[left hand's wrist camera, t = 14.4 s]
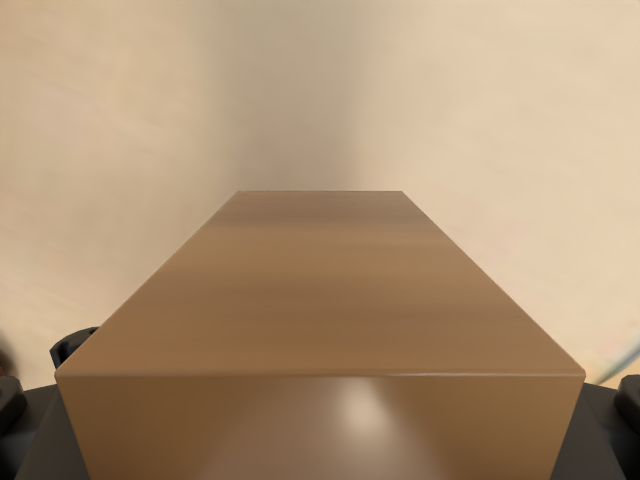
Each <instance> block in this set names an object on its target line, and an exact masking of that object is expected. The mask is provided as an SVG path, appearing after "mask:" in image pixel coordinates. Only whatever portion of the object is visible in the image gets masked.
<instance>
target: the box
mask: <svg viewBox="0 0 640 480" xmlns="http://www.w3.org/2000/svg"><path fill="white" fill-rule="evenodd" d="M54 377H55V379H56V382H57V385H58V388H59V391H60V394H61V397H62V399H63V402H64V405H65V408H66V411H67V414H68V417H69V420H70V422H71V425H72V428H73V431H74V434H75V437H76V440H77V442H78V445H79V448H80V451H81V454H82V457H83V460H84V463H85V465H86V468H87V471H88V474H89V477H90V480H549V479H550V478H551V475H552V472H553V469H554V466H555V463H556V461H557V458H558V455H559V452H560V449H561V446H562V443H563V440H564V438H565V435H566V432H567V429H568V426H569V423H570V420H571V418H572V415H573V412H574V409H575V406H576V403H577V400H578V397H579V395H580V392H581V389H582V386H583V383H584V380H585V377H586V372H585V370H584V369H583V368H582V367H581V366H580V365H579V364H578V363H577V362H576V361H575V360H574V359H573V358H572V357H571V356H570V355H569V354H568V353H567V352H566V351H565V350H564V349H563V348H562V347H561V346H560V345H559V344H557V343H556V342H555V341H554V340H553V339H552V338H551V337H550V336H549V335H548V334H547V333H546V332H545V331H544V330H543V329H542V328H541V327H540V326H539V325H538V324H537V323H536V322H535V321H534V320H533V319H532V318H531V317H530V316H529V315H528V314H527V313H526V312H525V311H524V310H523V309H522V308H521V307H520V306H519V305H518V304H517V303H516V302H515V301H514V300H513V299H511V298H510V297H509V296H508V295H507V294H506V293H505V292H504V291H503V290H502V289H501V288H500V287H499V286H498V285H497V284H496V283H495V282H494V281H493V280H492V279H491V278H490V277H489V276H488V275H487V274H486V273H485V272H484V271H483V270H482V269H481V268H480V267H479V266H478V265H477V264H476V263H475V262H474V261H473V260H472V259H471V258H470V257H469V256H468V255H467V254H465V253H464V252H463V251H462V250H461V249H460V248H459V247H458V246H457V245H456V244H455V243H454V242H453V241H452V240H451V239H450V238H449V237H448V236H447V235H446V234H445V233H444V232H443V231H442V230H441V229H440V228H439V227H438V226H437V225H436V224H435V223H434V222H433V221H432V220H431V219H430V218H429V217H428V216H427V215H426V214H425V213H424V212H423V211H422V210H420V209H419V208H418V207H417V206H416V205H415V204H414V203H413V202H412V201H411V200H410V199H409V198H408V197H407V196H406V195H405V194H404V193H403V192H402V191H238V192H237V193H236V194H235V195H234V196H233V197H232V198H231V199H230V200H229V201H228V202H227V203H226V204H225V205H224V206H223V207H222V208H221V209H220V210H219V211H218V212H217V213H216V214H215V215H214V216H213V217H212V218H211V219H210V220H208V221H207V222H206V223H205V224H204V225H203V226H202V227H201V228H200V229H199V230H198V231H197V232H196V233H195V234H194V235H193V236H192V237H191V238H190V239H189V240H188V241H187V242H186V243H185V244H184V245H183V246H182V247H181V248H180V249H179V250H178V251H177V252H176V253H175V254H174V255H173V256H172V257H171V258H170V259H169V260H168V261H167V262H166V263H165V264H164V265H163V266H162V267H161V268H159V269H158V270H157V271H156V272H155V273H154V274H153V275H152V276H151V277H150V278H149V279H148V280H147V281H146V282H145V283H144V284H143V285H142V286H141V287H140V288H139V289H138V290H137V291H136V292H135V293H134V294H133V295H132V296H131V297H130V298H129V299H128V300H127V301H126V302H125V303H124V304H123V305H122V306H121V307H120V308H119V309H118V310H117V311H116V312H115V313H114V314H113V315H112V316H110V317H109V318H108V319H107V320H106V321H105V322H104V323H103V324H102V325H101V326H100V327H99V328H98V329H97V330H96V331H95V332H94V333H93V334H92V335H91V336H90V337H89V338H88V339H87V340H86V341H85V342H84V343H83V344H82V345H81V346H80V347H79V348H78V349H77V350H76V351H75V352H74V353H73V354H72V355H71V356H70V357H69V358H68V359H67V360H66V361H65V362H64V363H62V364H61V365H60V366H59V367H58V368H57V369H56V371H55V375H54Z"/></svg>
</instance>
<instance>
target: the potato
mask: <svg viewBox="0 0 640 480" xmlns="http://www.w3.org/2000/svg"><path fill="white" fill-rule="evenodd" d="M0 376H5V374H4V371H3V369H2V367H1V366H0Z"/></svg>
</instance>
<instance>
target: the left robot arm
mask: <svg viewBox="0 0 640 480" xmlns="http://www.w3.org/2000/svg"><path fill="white" fill-rule="evenodd" d="M98 328H99V327H91V328H87V329H84V330H80V331H77V332H75V333H73V334H70V335H68V336H66V337H65V338H63V339H62V340H60V341H59V342H57V343H56V344H55V345H54V346H53V347H52V348H51V349H50V354H51V357H52V360H53V363H54V366H55V368H56V369H57V368H58V367H59V366H60V365H61V364H62V363H64V362H65V361H66V360H67V359H68V358H69V357H70V356H71V355H72V354H73V353H74V352H75V351H76V350H77V349H78V348H79V347H80V346H81V345H82V344H83V343H84V342H85V341H86V340H87V339H88V338H89V337H90V336H91V335H92V334H93V333H94V332H95V331H96V330H97V329H98ZM0 480H90V477H89V474H88V471H87V468H86V465H85V463H84V460H83V457H82V454H81V451H80V448H79V445H78V442H77V440H76V437H75V434H74V431H73V428H72V425H71V422H70V420H69V417H68V414H67V411H66V408H65V405H64V402H63V399H62V397H61V394H60V391H59V388H58V385H57V384H54V385H50V386H45V387H40V388H36V389H31V390H27V391H23V388H22V386H21V383H20V381H19V380H18V379H16V378H15V377H12V376H0ZM549 480H640V375H638V374H637V375H627V376H625V377H624V378H622V379H621V382H620V384H619V387H618V389H617V390H616V389H611V388H607V387H602V386H597V385H593V384H588V383H583V386H582V389H581V392H580V395H579V397H578V400H577V403H576V406H575V409H574V412H573V415H572V418H571V420H570V423H569V426H568V429H567V432H566V435H565V438H564V440H563V443H562V446H561V449H560V452H559V455H558V458H557V461H556V463H555V466H554V469H553V472H552V475H551V478H550V479H549Z"/></svg>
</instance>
